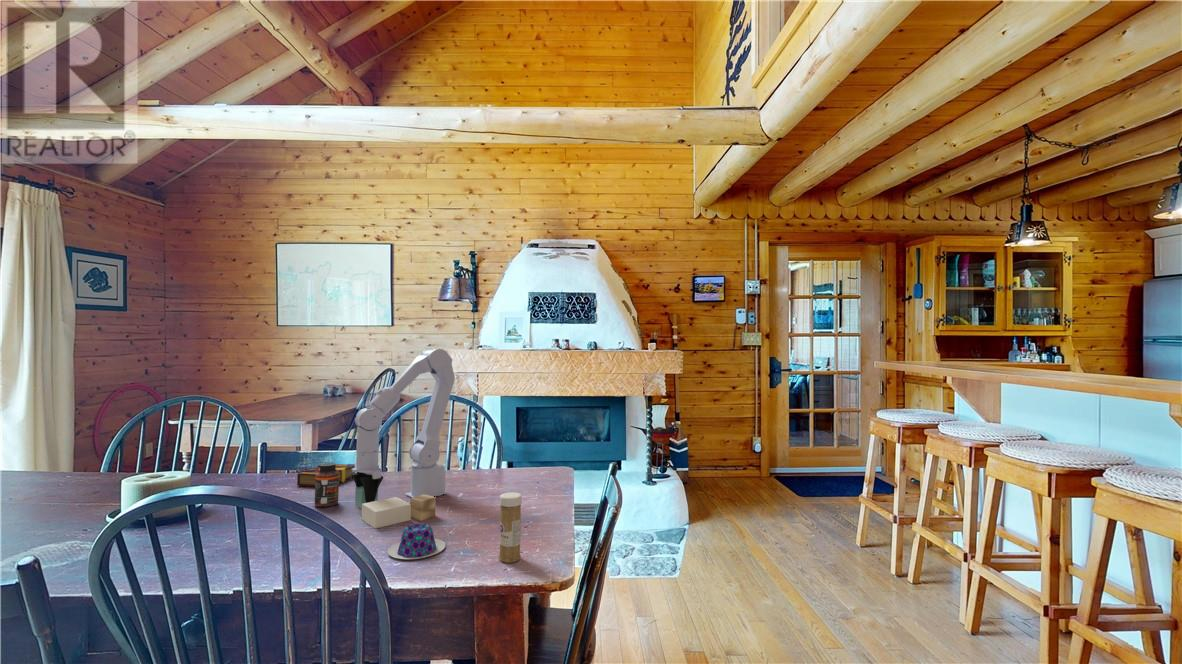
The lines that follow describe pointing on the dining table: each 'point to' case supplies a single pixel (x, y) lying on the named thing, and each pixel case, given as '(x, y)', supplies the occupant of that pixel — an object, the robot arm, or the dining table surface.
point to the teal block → (361, 496)
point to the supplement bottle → (327, 485)
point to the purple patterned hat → (416, 543)
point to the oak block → (422, 507)
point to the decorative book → (310, 474)
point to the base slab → (386, 512)
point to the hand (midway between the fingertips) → (366, 499)
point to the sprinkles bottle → (510, 527)
